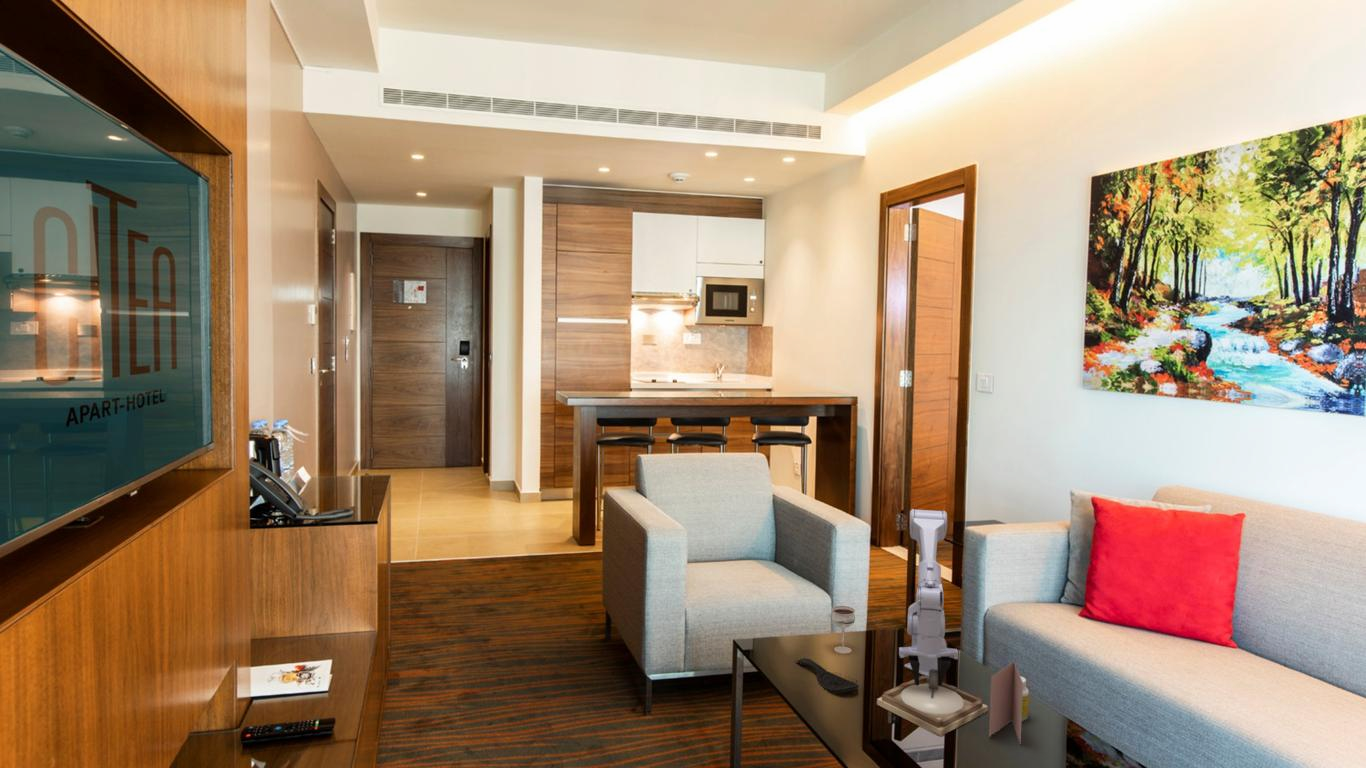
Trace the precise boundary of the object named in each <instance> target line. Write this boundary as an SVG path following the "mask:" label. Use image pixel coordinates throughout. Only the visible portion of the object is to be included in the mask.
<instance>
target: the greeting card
mask: <svg viewBox="0 0 1366 768" xmlns="http://www.w3.org/2000/svg"><path fill="white" fill-rule="evenodd" d="M1020 676H1021V675H1020V672H1019V670H1018V667H1017V665H1016V662H1015V661H1013V662H1012V663H1010V664H1008V665H1007V666H1005V667H1004V668H1002V669H1001V670H999V671H998V672H996V673H995V674H993V675H991V676H990V677H991V679H990V700H989V701H990V702H989V703H990V705H989V728H988V729H989V731H988V738H989V737H990V736H991V735H992V734H994V733H995V732H997V731H998V730H999V731H1001V730H1002V729H1003V728H1004V727H1003V726H1005V725H1006V724H1007V723H1008V722H1009V721H1011V720H1012V721H1013V722H1012V721H1011V722H1012V724H1014V725H1013V727H1015V728H1014V731H1015V730H1016V731H1015V734H1016V733H1017V734H1016V737H1017V736H1018V737H1017V739H1018V738H1019V740H1018V742H1019V741H1020V743H1019V745H1020V744H1022V722H1023V721H1022V698H1023V682H1022V679H1021V677H1022V676H1021V677H1020ZM1007 725H1008V724H1007ZM1007 725H1006V726H1007ZM1006 726H1005V727H1006ZM1002 727H1003V728H1002ZM1001 728H1002V729H1001ZM1000 729H1001V730H1000ZM999 731H998V732H999ZM998 732H997V733H998ZM995 734H996V733H995ZM995 734H994V735H995ZM991 737H992V736H991ZM991 737H990V738H991Z"/></svg>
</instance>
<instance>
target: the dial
mask: <svg viewBox="0 0 1366 768" xmlns="http://www.w3.org/2000/svg"><path fill="white" fill-rule="evenodd" d="M938 681H939V671H938V670H935V669H930V670H929V684H919V686H918V685H912V686H909V687H907V688H905V689H904V690H903V691H902V693H901V701H902V702H903V703H905V704H907V705H909V706H911V707H913V708H916V709H918V710H920V711H922V712H924V713H926V714H928V715H930V716H932V717H946V716H948V715H950V714H952V713H954V712H956V711H958V710H960V709H962V708H963V707H964V702H963V699H962V697H961V696H960V695H958V694H957V693H956V692H954V691H952V690H950V689H947V688H945V687H941V686H938Z"/></svg>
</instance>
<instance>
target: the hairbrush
mask: <svg viewBox="0 0 1366 768" xmlns="http://www.w3.org/2000/svg"><path fill="white" fill-rule="evenodd" d="M797 661H798V662H799V663H801V664H802V665H801V664H800V665H801V666H804V667H805V666H806V667H808V668H810V669H812V670H814V671H816V672H815V673H816V677H817V682H819V683H818V685H819V684H820V685H821V686H822V687H823V688H824V689H823V688H822V687H821V686H820V685H819V686H820V687H821V688H822V689H823V690H825V691H826V690H827V691H828V693H830V694H837V693H838V694H840V693H844V692H845V693H846V692H850V691H855V690H857V689H859V686H860V685H859V684H858V680H857V679H854V678H853V677H850V678H847V676H844V677H843V676H842V673H840V675H837V674H836V673H835V672H834V671H833V673H832V672H831V671H828V670H829V668H824V667H823V666H821V665H820V664H818V663H817V662H815V661H813V659H810V658H806V657H805V658H804V657H803V659H800V660H797ZM826 669H828V670H826ZM827 691H826V692H827Z"/></svg>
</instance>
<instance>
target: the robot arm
mask: <svg viewBox="0 0 1366 768" xmlns="http://www.w3.org/2000/svg"><path fill="white" fill-rule="evenodd" d="M947 530H948V513H947V511H946V510H926V509H914V508H911V509H910V510H909V535H910V538H911V539H912V540H915V541H916V542H917V545H918V548H919V549H918V565H917V574H918V575H917V586H918V587H917V588H916V599H915V600H916V601H915V602H913V603H912V604H911V605H909V607H908V609H907V611H908V612H907V631H906V632H907V634H908V636H911V646H906V647H905V646H901V647H898V655H899V658H900V659H903V658H905V657H906V658H907V660H908V663H905V664H904V668H907V669H909V670H911V671H912V674H913V680H914V682H915V684H916V685H918V686H919V677H920V675H921V676H926V675H927V676H929V670H930V669H935V670H938V671H939V681H938V685H939V686H942V682H944V679H945V675H946V673H947V672H948V670H949V668H950V667H951V665H952V661H951V659H954V660H958V659H959V650H958V649H957V648H950V647H947V641H946V639H945V634H946V617H945V611H944V603H945V602H944V599H945V597H944V596H945V594H944V589H943V584H942V568H941V565H940V564H939V562H938V561H937V549H938V543H939V542H941V541H944V540H945V538H946V536H947V535H946V534H947Z"/></svg>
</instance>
